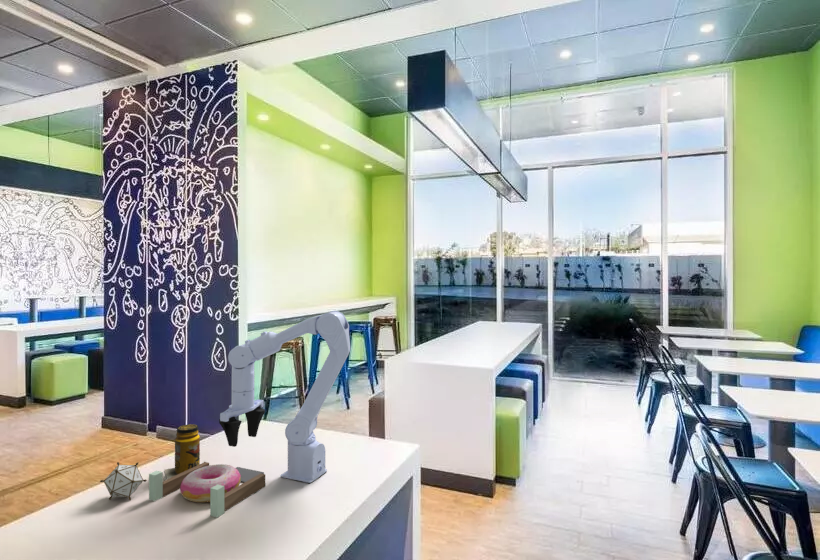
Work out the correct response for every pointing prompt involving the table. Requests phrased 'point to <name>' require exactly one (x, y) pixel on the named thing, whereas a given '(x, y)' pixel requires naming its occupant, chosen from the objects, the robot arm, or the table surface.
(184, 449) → the condiment
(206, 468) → the donut
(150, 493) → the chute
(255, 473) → the grey flat panel
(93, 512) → the table surface
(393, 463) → the table surface
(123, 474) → the game die
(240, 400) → the robot arm
